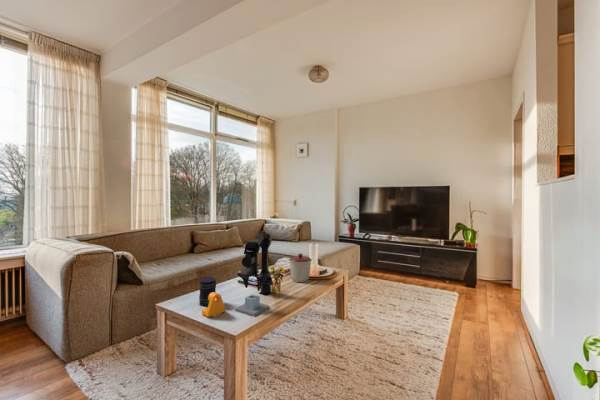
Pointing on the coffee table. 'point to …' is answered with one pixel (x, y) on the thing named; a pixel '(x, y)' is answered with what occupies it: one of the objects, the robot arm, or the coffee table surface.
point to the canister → (300, 268)
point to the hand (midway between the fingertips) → (252, 289)
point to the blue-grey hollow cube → (252, 301)
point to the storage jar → (206, 290)
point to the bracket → (214, 305)
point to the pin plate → (252, 312)
